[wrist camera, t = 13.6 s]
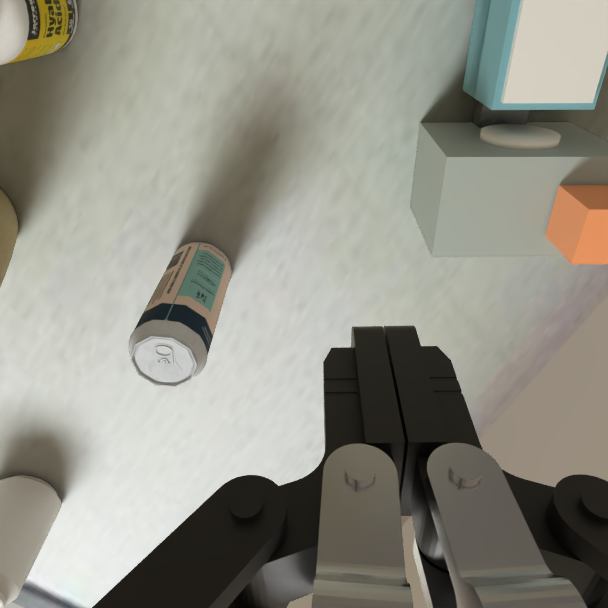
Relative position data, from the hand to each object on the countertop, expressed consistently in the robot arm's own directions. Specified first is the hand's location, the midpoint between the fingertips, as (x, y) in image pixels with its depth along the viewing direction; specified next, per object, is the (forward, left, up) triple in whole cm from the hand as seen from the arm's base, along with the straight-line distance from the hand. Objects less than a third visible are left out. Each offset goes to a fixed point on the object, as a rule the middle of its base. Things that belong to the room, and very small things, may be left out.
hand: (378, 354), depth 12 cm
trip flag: (+3, +13, -17) cm, 22 cm away
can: (+40, -33, -25) cm, 58 cm away
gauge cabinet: (+3, +11, -25) cm, 27 cm away
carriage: (-5, +11, -25) cm, 27 cm away
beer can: (+11, -10, -25) cm, 29 cm away
